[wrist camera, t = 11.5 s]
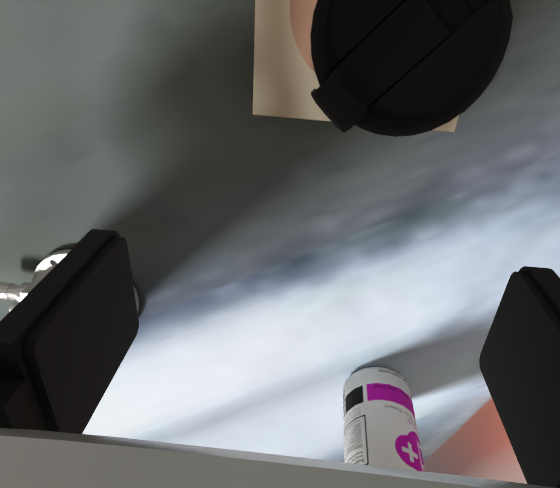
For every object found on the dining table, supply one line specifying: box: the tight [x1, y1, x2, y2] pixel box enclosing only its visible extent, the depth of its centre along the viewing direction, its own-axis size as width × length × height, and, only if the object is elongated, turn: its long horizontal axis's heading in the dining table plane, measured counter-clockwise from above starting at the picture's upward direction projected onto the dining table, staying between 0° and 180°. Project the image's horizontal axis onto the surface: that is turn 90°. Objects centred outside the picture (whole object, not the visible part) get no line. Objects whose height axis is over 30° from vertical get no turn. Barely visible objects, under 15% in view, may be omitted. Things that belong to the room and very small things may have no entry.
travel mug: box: [310, 0, 513, 137], centre depth 21 cm, size 6×7×20 cm
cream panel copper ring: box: [253, 0, 459, 132], centre depth 32 cm, size 16×16×4 cm
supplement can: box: [343, 367, 425, 472], centre depth 49 cm, size 8×8×15 cm
